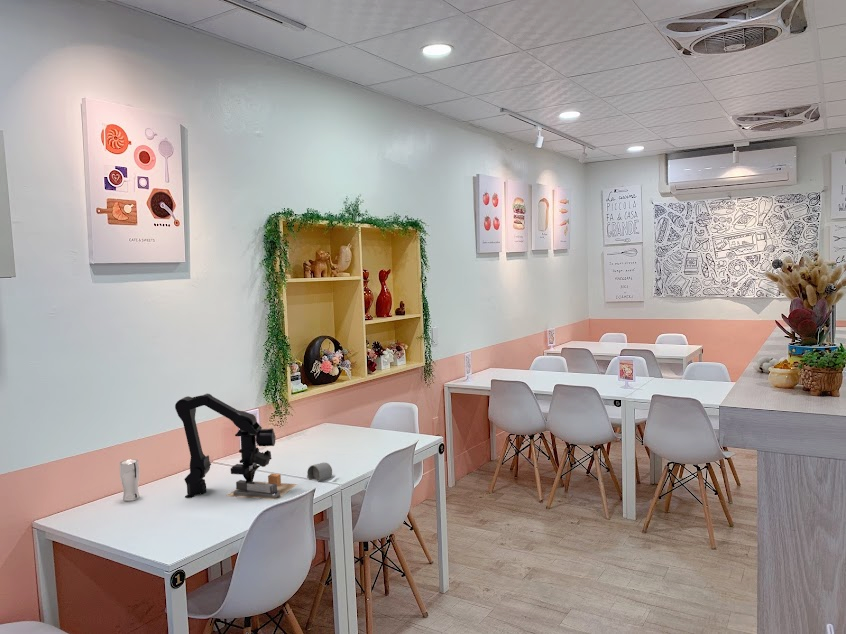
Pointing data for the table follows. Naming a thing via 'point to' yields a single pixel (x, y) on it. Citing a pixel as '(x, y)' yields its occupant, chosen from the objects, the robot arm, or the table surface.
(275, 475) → the tan rectangular block
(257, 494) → the tongs lower
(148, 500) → the table surface
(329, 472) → the ceramic mug
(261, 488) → the tongs upper
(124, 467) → the beer glass
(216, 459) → the table surface
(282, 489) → the serving board
